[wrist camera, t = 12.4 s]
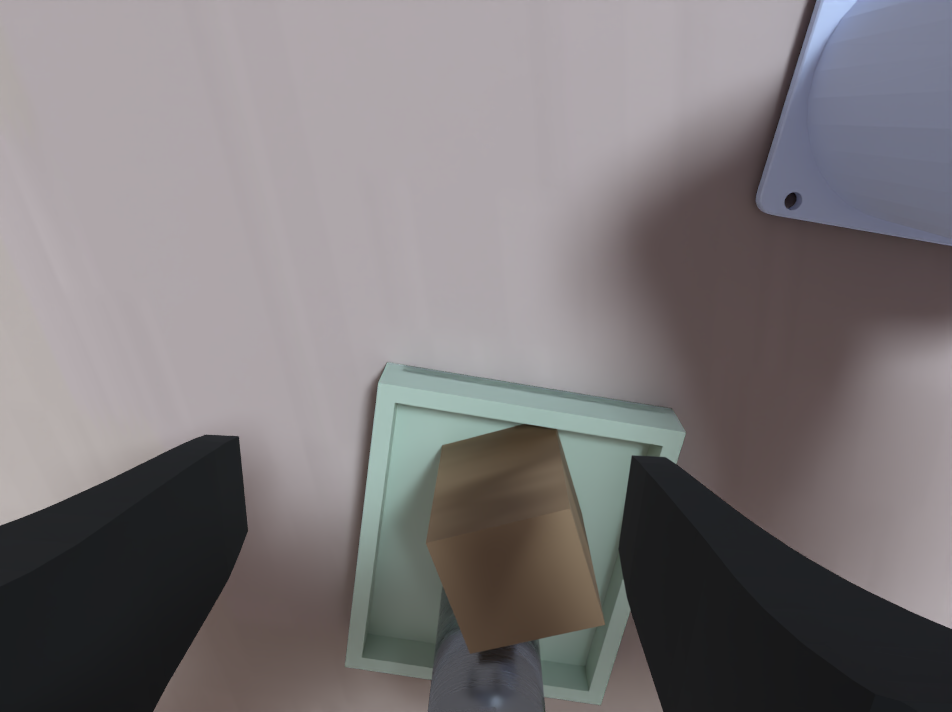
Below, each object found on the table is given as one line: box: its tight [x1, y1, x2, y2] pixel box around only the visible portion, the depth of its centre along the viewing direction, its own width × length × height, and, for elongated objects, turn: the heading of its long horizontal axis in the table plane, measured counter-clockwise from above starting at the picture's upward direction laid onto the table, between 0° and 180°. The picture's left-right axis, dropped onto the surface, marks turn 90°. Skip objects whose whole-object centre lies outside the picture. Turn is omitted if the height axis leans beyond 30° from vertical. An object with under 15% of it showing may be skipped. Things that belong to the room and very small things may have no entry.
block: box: [426, 424, 605, 654], centre depth 20 cm, size 4×4×6 cm
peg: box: [428, 587, 545, 712], centre depth 22 cm, size 4×4×6 cm
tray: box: [345, 362, 686, 705], centre depth 24 cm, size 10×12×2 cm
